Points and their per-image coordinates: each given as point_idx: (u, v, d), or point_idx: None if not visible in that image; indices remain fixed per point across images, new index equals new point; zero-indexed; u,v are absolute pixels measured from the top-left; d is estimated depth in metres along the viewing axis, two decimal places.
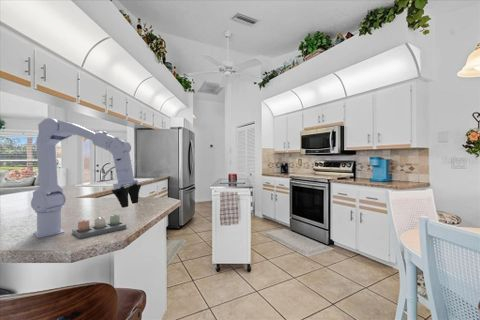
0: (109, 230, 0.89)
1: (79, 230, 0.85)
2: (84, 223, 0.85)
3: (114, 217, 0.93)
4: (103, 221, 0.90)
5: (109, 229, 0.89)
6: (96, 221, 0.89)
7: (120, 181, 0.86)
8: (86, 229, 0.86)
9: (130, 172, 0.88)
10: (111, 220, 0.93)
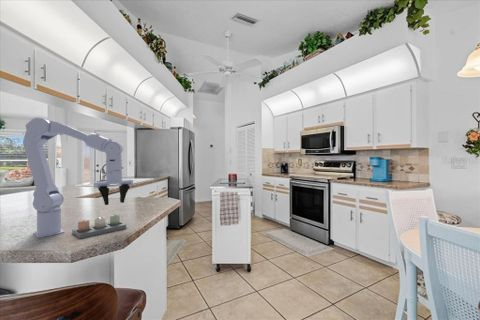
0: (109, 230, 0.89)
1: (79, 230, 0.85)
2: (84, 223, 0.85)
3: (114, 217, 0.93)
4: (103, 221, 0.90)
5: (109, 229, 0.89)
6: (96, 221, 0.89)
7: (106, 180, 0.94)
8: (86, 229, 0.86)
9: (114, 173, 0.93)
10: (111, 220, 0.93)
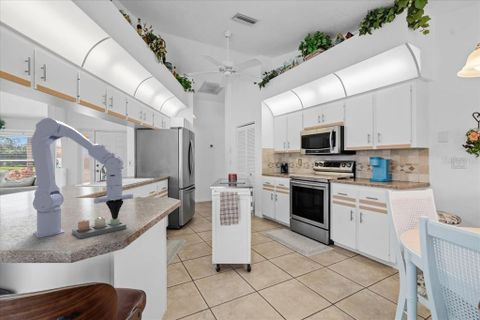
0: (109, 230, 0.89)
1: (79, 230, 0.85)
2: (84, 223, 0.85)
3: (114, 220, 0.93)
4: (103, 221, 0.90)
5: (109, 229, 0.89)
6: (96, 221, 0.89)
7: None
8: (86, 229, 0.86)
9: (114, 189, 0.93)
10: (111, 223, 0.93)
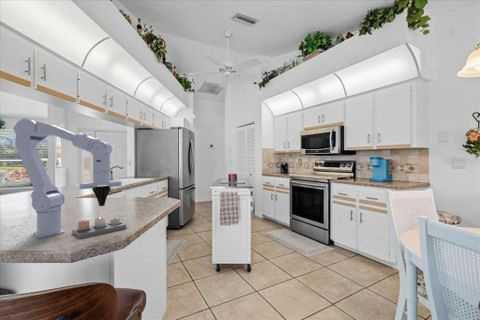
0: (109, 230, 0.89)
1: (79, 230, 0.85)
2: (84, 223, 0.85)
3: (114, 220, 0.93)
4: (103, 221, 0.90)
5: (109, 229, 0.89)
6: (96, 221, 0.89)
7: (93, 181, 0.90)
8: (86, 229, 0.86)
9: (101, 174, 0.89)
10: (111, 223, 0.93)
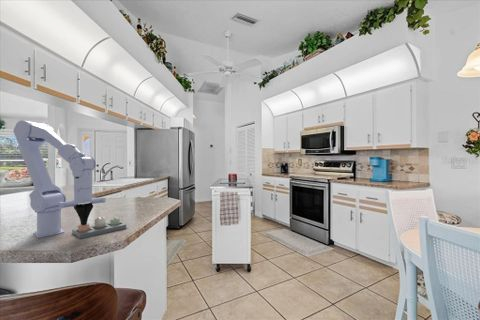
0: (109, 230, 0.89)
1: None
2: (84, 227, 0.85)
3: (114, 220, 0.93)
4: (103, 221, 0.90)
5: (109, 229, 0.89)
6: (96, 221, 0.89)
7: (74, 199, 0.85)
8: None
9: (83, 192, 0.84)
10: (111, 223, 0.93)
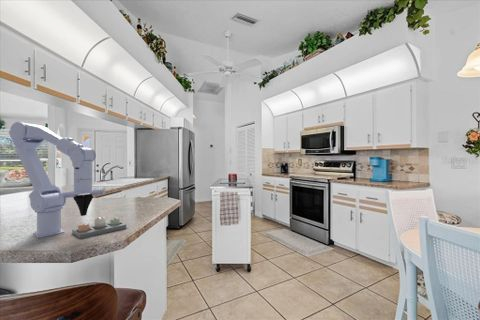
0: (109, 230, 0.89)
1: None
2: (84, 227, 0.85)
3: (114, 220, 0.93)
4: (103, 221, 0.90)
5: (109, 229, 0.89)
6: (96, 221, 0.89)
7: (74, 190, 0.85)
8: None
9: (82, 183, 0.84)
10: (111, 223, 0.93)
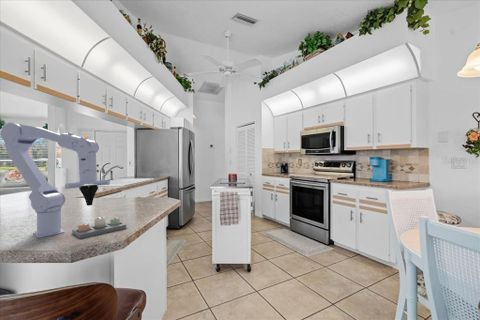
0: (109, 230, 0.89)
1: None
2: (84, 227, 0.85)
3: (114, 220, 0.93)
4: (103, 221, 0.90)
5: (109, 229, 0.89)
6: (96, 221, 0.89)
7: None
8: None
9: (88, 173, 0.87)
10: (111, 223, 0.93)
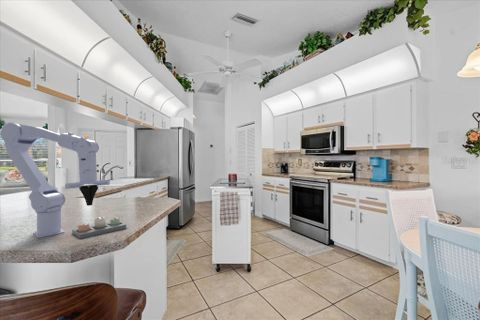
0: (109, 230, 0.89)
1: None
2: (84, 227, 0.85)
3: (114, 220, 0.93)
4: (103, 221, 0.90)
5: (109, 229, 0.89)
6: (96, 221, 0.89)
7: None
8: None
9: (88, 173, 0.87)
10: (111, 223, 0.93)
